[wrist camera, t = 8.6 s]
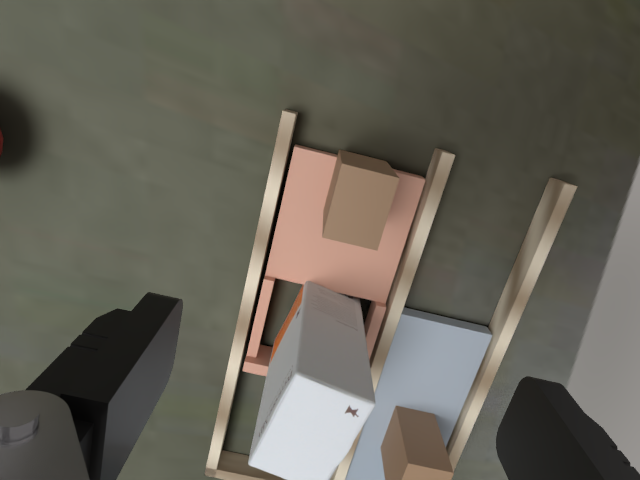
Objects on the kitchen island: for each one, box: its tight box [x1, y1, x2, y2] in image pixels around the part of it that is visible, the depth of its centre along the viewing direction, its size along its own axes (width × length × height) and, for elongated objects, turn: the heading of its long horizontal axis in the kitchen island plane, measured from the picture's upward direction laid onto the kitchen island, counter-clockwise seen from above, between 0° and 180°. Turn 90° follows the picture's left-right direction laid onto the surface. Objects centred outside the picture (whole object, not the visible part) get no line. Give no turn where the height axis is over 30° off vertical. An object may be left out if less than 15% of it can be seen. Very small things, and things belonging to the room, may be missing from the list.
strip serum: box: [243, 144, 425, 376], centre depth 29 cm, size 16×8×7 cm, turn 166°
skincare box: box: [248, 281, 376, 480], centre depth 27 cm, size 6×4×12 cm
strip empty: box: [345, 307, 492, 480], centre depth 32 cm, size 16×7×7 cm, turn 166°
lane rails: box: [205, 109, 577, 480], centre depth 33 cm, size 28×18×2 cm, turn 166°
